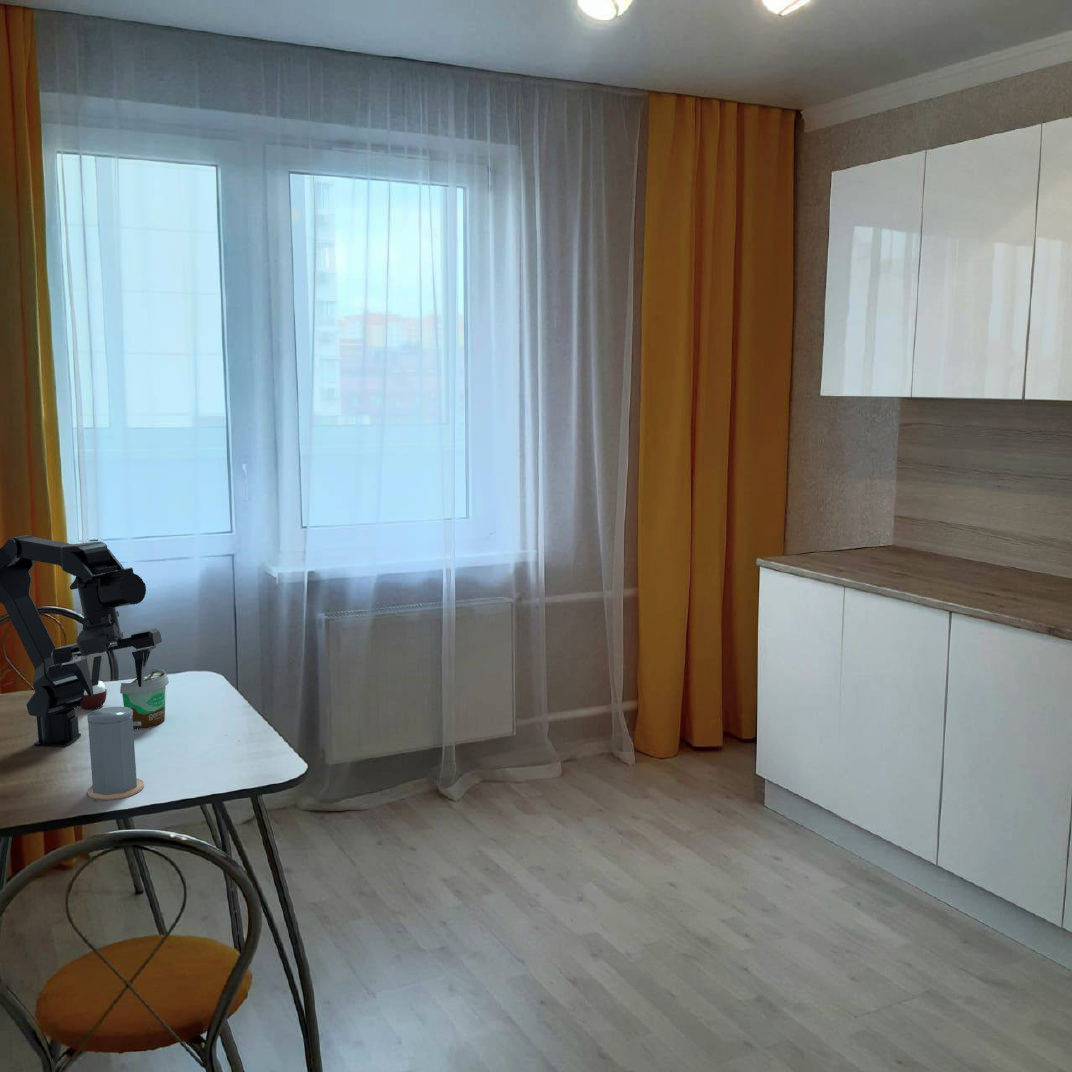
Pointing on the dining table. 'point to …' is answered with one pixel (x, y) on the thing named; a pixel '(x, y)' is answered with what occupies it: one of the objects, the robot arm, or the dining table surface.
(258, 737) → the dining table surface
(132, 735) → the blue-gray container
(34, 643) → the robot arm
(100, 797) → the terracotta coaster
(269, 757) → the dining table surface
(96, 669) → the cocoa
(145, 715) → the food container
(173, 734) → the dining table surface
